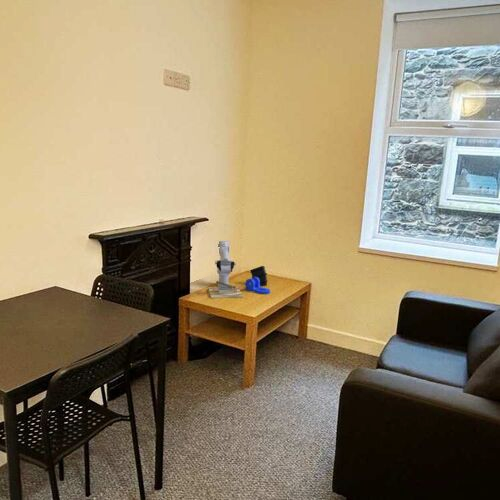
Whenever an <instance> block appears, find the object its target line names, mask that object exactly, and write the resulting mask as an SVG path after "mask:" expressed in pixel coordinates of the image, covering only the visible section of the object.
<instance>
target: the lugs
mask: <svg viewBox="0 0 500 500" xmlns="http://www.w3.org/2000/svg"><path fill="white" fill-rule="evenodd" d="M233 286H236V287H237V285H233ZM212 288H213V293H215V288H216V286H212ZM233 291H234V293H237V288H233Z"/></svg>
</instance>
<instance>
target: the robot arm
mask: <svg viewBox="0 0 500 500" xmlns="http://www.w3.org/2000/svg"><path fill="white" fill-rule="evenodd" d="M218 241H219V244H218V247H220V248H219V260H215V262H214V265H216V268H217V270H216V271H217V272H216V274H218V282H222V283H225V284H228V285H230V284H229V279H230V278H229V275H230V274H231V273H232V271H233V269H234V267H235V266H236V264H237V263H236V261H233V260H230V241H229V240H218ZM218 286H225V285H222V284H217V287H218Z"/></svg>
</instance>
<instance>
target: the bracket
mask: <svg viewBox="0 0 500 500" xmlns="http://www.w3.org/2000/svg"><path fill="white" fill-rule="evenodd" d="M255 281H256V282H255ZM244 289H245V291H248V292H253V293H256V294H259V295H269V294H271V289H270V288H266V287H264V286H263V287H262V286H261V285H260V280H259V278H258V277H253V278H252V277H251V278H248V279H246V280H245V287H244Z"/></svg>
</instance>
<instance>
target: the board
mask: <svg viewBox="0 0 500 500" xmlns="http://www.w3.org/2000/svg"><path fill="white" fill-rule="evenodd" d="M236 288H237V293H234V291H233V294H219V293H218V290H217V289H218V287H215V293H213V287H208V289H209V290H208V292H209V296H210V298H211V299H242V298H244V295H243V293H242V292H241V289H240V287H237V286H236ZM232 289H233V288H232Z"/></svg>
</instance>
